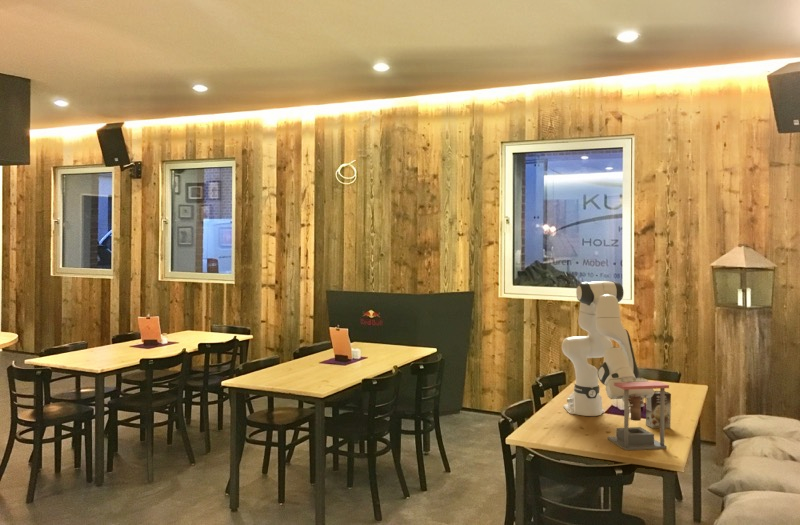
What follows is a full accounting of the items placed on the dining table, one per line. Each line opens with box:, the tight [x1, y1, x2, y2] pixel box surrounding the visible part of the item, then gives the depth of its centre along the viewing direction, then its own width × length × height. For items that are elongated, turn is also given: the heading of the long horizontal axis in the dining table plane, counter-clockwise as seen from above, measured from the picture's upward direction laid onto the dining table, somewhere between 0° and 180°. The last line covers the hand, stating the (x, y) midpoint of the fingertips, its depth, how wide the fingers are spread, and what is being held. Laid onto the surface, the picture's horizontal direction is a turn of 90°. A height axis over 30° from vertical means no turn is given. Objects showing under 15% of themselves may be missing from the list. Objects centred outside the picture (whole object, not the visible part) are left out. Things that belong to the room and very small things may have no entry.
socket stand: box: [607, 380, 670, 451], centre depth 260 cm, size 16×20×26 cm
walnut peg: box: [630, 395, 642, 422], centre depth 260 cm, size 4×4×10 cm
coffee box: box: [645, 390, 672, 429], centre depth 286 cm, size 9×6×16 cm
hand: (636, 406), depth 260 cm, fingers closed on walnut peg, 4 cm apart
